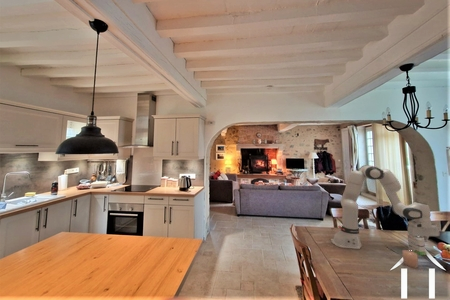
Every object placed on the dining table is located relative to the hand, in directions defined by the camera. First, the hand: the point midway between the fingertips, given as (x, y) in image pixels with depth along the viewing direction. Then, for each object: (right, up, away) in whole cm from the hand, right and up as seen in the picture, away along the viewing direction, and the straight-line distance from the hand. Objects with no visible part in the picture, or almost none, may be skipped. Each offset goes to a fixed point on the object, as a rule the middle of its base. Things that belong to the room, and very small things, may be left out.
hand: (424, 241), depth 136 cm
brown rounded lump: (-27, -8, -15) cm, 32 cm away
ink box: (-6, -8, 0) cm, 10 cm away
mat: (-15, -8, 0) cm, 18 cm away
